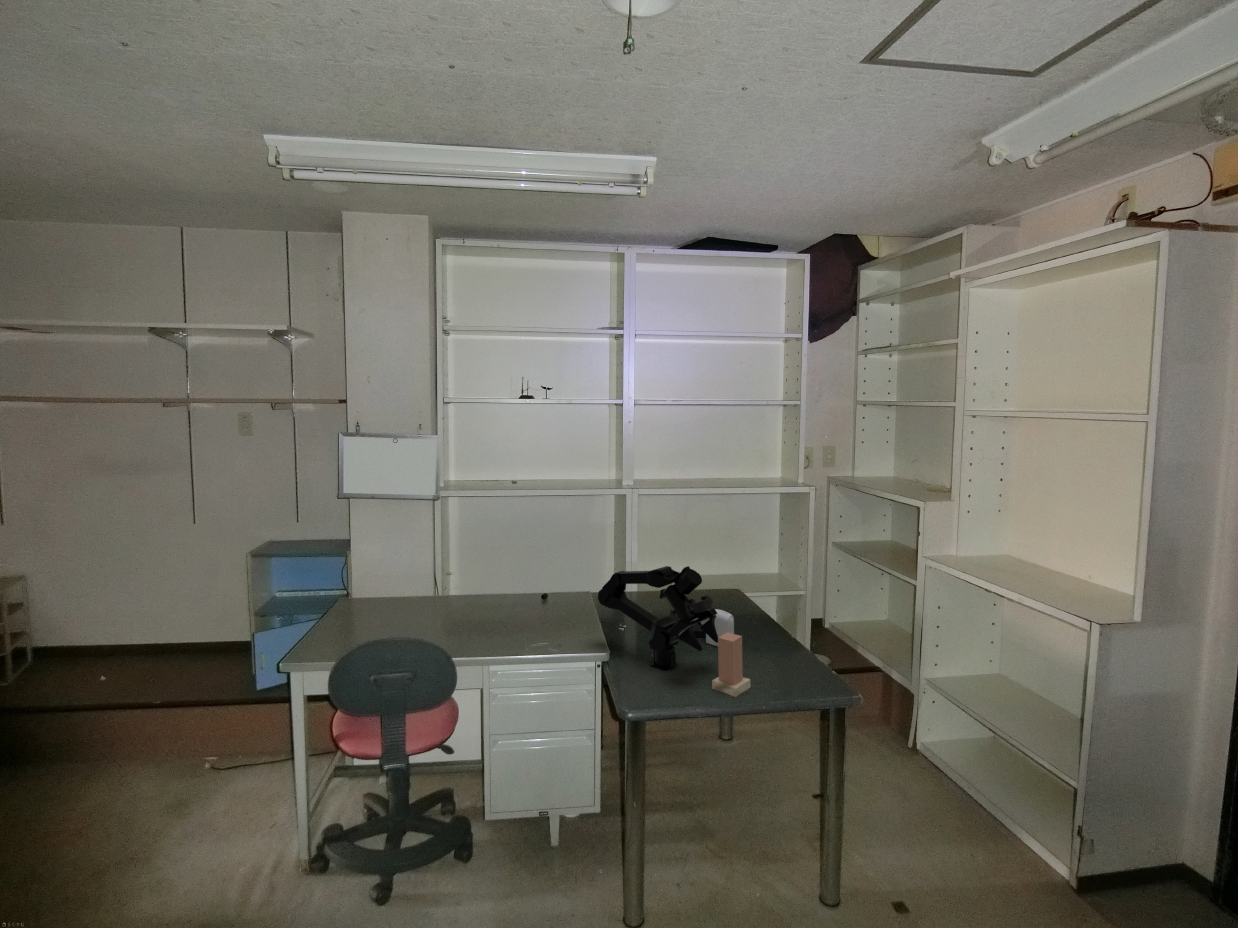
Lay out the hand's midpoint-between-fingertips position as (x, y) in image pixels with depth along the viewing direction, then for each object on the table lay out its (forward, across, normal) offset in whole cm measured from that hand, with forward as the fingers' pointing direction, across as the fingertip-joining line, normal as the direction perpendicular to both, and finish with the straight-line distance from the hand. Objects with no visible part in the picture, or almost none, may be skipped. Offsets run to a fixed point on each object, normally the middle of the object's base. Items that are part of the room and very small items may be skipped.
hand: (709, 646), depth 189 cm
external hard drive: (-14, +35, +30) cm, 48 cm away
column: (+11, 0, 0) cm, 11 cm away
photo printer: (-1, +26, +16) cm, 31 cm away
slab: (+13, 0, +2) cm, 14 cm away
